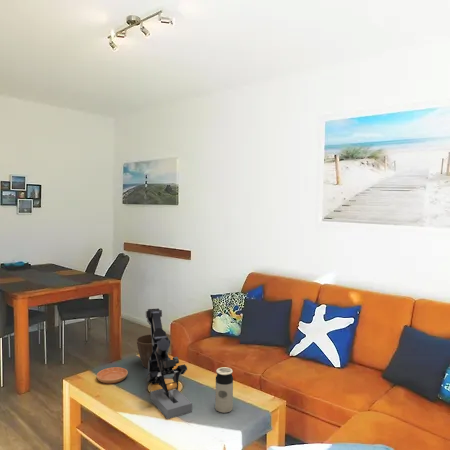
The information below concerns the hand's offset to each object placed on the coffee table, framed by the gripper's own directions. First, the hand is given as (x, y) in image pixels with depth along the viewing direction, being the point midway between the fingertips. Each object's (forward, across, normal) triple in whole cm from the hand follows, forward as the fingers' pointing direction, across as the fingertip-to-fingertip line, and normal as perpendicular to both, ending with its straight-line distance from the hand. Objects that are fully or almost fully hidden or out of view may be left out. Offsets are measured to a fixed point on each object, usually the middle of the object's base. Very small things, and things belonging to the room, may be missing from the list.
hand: (172, 390), depth 183 cm
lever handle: (+4, 0, +6) cm, 7 cm away
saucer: (-25, -15, +37) cm, 47 cm away
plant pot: (-29, +8, +40) cm, 50 cm away
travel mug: (+15, +20, -4) cm, 25 cm away
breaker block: (+4, 0, +7) cm, 8 cm away
